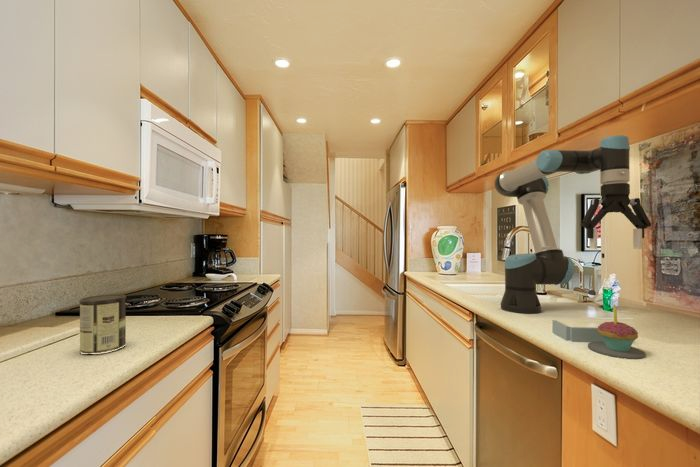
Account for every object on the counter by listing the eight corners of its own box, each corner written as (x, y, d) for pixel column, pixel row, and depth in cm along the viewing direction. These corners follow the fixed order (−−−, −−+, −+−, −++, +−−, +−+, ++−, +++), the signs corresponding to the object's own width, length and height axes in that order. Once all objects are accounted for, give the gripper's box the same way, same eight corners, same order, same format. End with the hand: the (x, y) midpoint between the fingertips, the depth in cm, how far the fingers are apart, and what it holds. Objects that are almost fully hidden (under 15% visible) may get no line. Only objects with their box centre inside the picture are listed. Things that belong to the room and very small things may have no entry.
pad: (578, 343, 96) (578, 341, 96) (623, 344, 95) (623, 342, 95) (606, 358, 84) (606, 355, 84) (658, 359, 83) (658, 357, 83)
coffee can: (106, 341, 97) (107, 293, 98) (134, 344, 95) (135, 295, 95) (68, 353, 88) (69, 299, 88) (98, 357, 85) (99, 301, 85)
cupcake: (634, 356, 83) (633, 308, 84) (593, 348, 90) (593, 303, 90) (641, 349, 89) (640, 304, 89) (602, 341, 96) (601, 299, 96)
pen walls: (552, 332, 107) (552, 320, 107) (609, 334, 105) (609, 321, 105) (568, 341, 98) (568, 327, 98) (630, 343, 96) (630, 329, 96)
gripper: (581, 182, 107) (581, 248, 107) (665, 181, 105) (666, 249, 105) (568, 186, 115) (568, 248, 114) (646, 185, 112) (647, 248, 112)
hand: (615, 248), depth 110 cm, fingers open, 13 cm apart
